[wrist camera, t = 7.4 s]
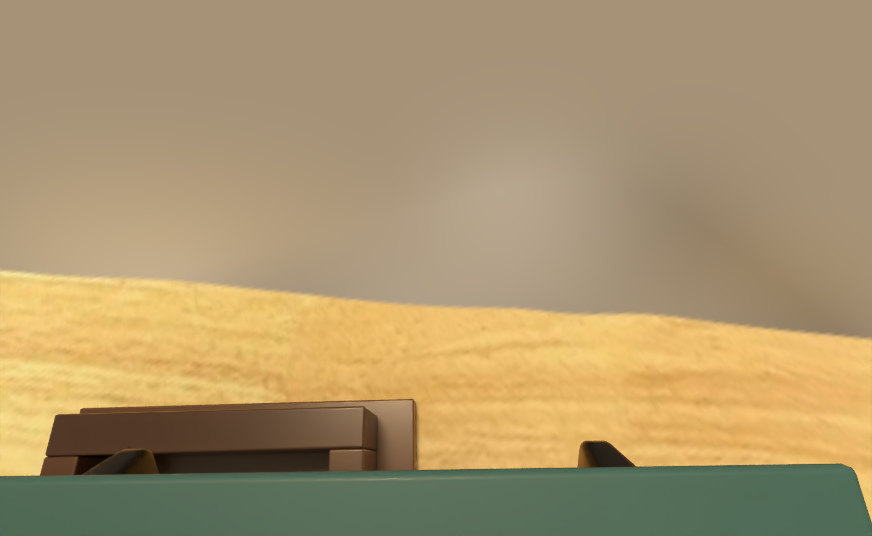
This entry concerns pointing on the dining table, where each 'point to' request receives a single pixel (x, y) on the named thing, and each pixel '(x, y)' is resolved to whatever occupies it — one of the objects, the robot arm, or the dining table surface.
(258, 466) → the frame holder
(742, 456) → the dining table surface
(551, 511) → the picture frame
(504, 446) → the dining table surface
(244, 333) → the dining table surface
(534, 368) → the dining table surface
